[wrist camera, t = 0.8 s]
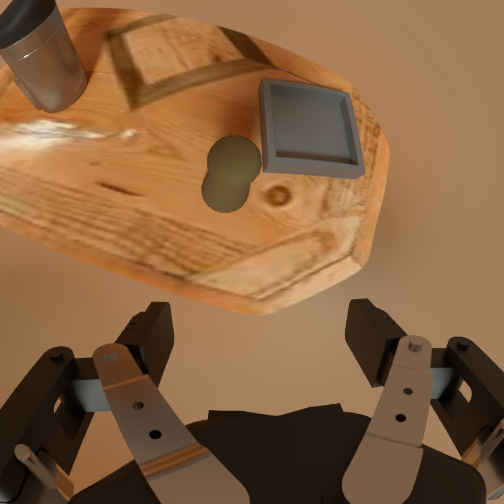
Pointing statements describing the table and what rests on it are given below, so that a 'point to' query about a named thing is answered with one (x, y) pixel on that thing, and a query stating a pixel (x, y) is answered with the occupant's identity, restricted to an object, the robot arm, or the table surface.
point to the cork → (230, 173)
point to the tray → (308, 130)
